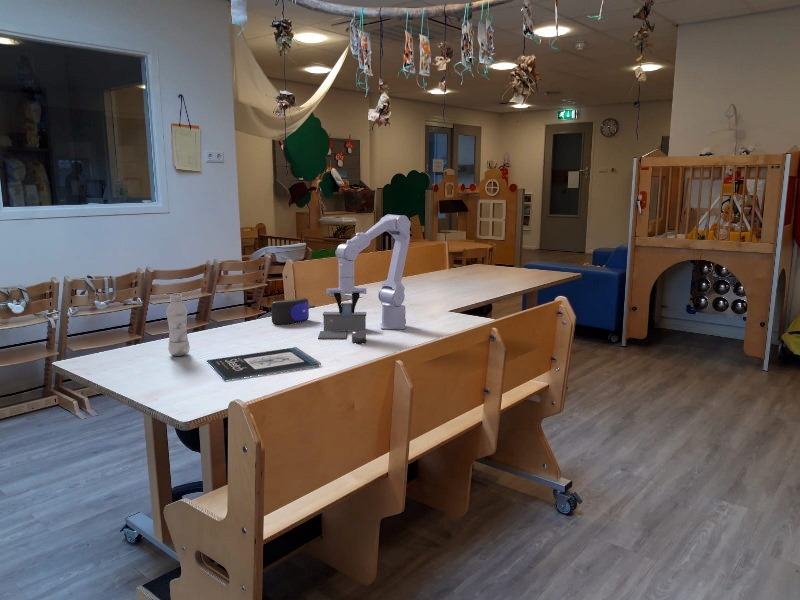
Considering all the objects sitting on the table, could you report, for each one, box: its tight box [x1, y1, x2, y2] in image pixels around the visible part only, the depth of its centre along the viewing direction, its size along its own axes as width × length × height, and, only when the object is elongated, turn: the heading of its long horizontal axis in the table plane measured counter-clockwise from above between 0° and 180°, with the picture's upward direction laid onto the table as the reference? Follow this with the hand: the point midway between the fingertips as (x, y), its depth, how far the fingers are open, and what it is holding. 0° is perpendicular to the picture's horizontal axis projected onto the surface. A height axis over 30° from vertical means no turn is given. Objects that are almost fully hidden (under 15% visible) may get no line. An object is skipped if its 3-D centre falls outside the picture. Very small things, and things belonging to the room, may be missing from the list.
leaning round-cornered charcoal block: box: [270, 297, 310, 326], centre depth 244 cm, size 16×5×9 cm, turn 126°
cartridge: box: [341, 302, 352, 318], centre depth 224 cm, size 4×4×5 cm
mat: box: [317, 330, 348, 340], centre depth 225 cm, size 10×10×1 cm
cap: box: [351, 330, 367, 345], centre depth 216 cm, size 5×5×4 cm
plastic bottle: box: [165, 293, 190, 357], centre depth 196 cm, size 6×7×20 cm
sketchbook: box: [206, 346, 322, 382], centre depth 189 cm, size 22×30×2 cm
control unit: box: [322, 311, 367, 332], centre depth 234 cm, size 17×5×7 cm, turn 92°
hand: (346, 313), depth 224 cm, fingers closed on cartridge, 4 cm apart
